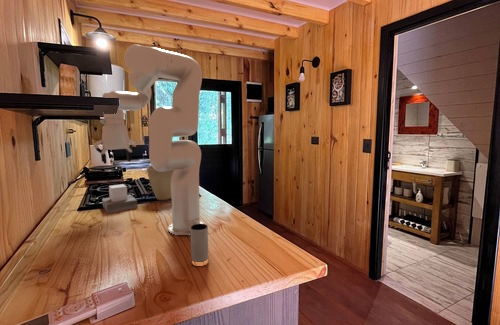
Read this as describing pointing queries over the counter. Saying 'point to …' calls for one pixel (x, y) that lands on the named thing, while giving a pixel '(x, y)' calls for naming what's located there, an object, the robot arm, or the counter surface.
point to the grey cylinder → (199, 242)
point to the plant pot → (160, 183)
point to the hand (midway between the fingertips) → (117, 162)
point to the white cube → (118, 192)
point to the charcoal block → (119, 204)
